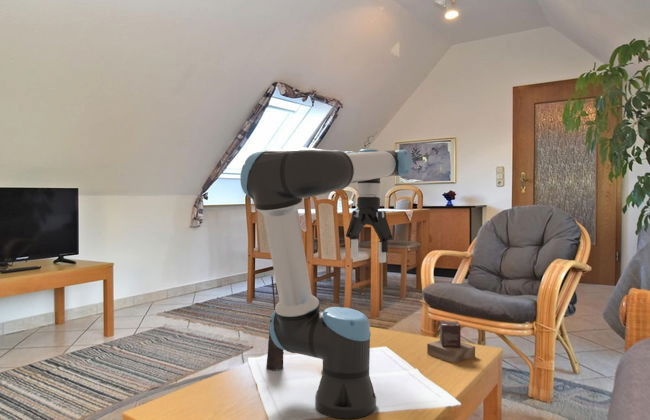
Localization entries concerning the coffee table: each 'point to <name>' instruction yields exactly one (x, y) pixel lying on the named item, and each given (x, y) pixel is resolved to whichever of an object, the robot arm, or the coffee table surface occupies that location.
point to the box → (450, 334)
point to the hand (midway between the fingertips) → (367, 260)
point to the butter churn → (274, 348)
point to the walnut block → (451, 352)
